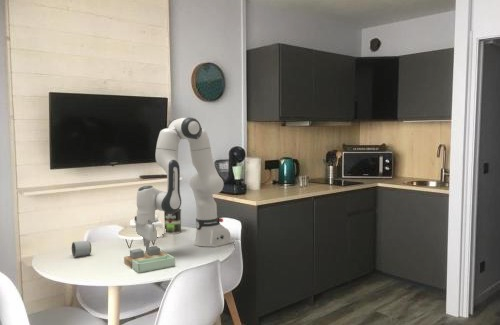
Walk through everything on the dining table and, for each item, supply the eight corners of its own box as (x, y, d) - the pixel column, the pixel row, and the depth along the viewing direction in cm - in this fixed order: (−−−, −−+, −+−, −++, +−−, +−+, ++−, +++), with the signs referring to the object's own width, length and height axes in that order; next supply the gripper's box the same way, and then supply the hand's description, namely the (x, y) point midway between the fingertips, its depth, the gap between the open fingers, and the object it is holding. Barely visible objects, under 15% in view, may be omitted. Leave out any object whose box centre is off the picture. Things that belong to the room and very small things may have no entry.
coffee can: (178, 234, 262) (177, 211, 261) (162, 233, 264) (161, 211, 263) (183, 230, 272) (183, 208, 271) (168, 230, 274) (167, 208, 273)
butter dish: (162, 238, 254) (161, 211, 253) (131, 240, 249) (130, 213, 248) (160, 231, 271) (159, 206, 270) (130, 234, 265) (129, 208, 264)
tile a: (156, 252, 212) (155, 246, 211) (159, 254, 207) (159, 248, 207) (146, 253, 209) (146, 247, 209) (149, 256, 205) (149, 249, 204)
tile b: (140, 254, 207) (140, 248, 207) (143, 257, 203) (143, 250, 203) (130, 256, 204) (129, 250, 204) (133, 258, 200) (133, 252, 200)
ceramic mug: (92, 255, 218) (91, 240, 217) (75, 258, 213) (75, 243, 212) (85, 251, 226) (85, 237, 226) (69, 254, 221) (68, 239, 220)
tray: (167, 261, 205) (167, 253, 205) (175, 266, 198) (174, 257, 198) (131, 268, 196) (131, 259, 196) (138, 273, 189) (138, 264, 188)
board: (160, 256, 214) (160, 250, 214) (168, 261, 206) (168, 255, 205) (124, 263, 204) (124, 256, 204) (131, 268, 196) (130, 261, 196)
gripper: (160, 221, 206) (160, 250, 207) (145, 215, 223) (145, 241, 224) (147, 223, 203) (147, 252, 204) (133, 216, 220) (133, 243, 221)
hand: (146, 246), depth 214 cm, fingers closed
